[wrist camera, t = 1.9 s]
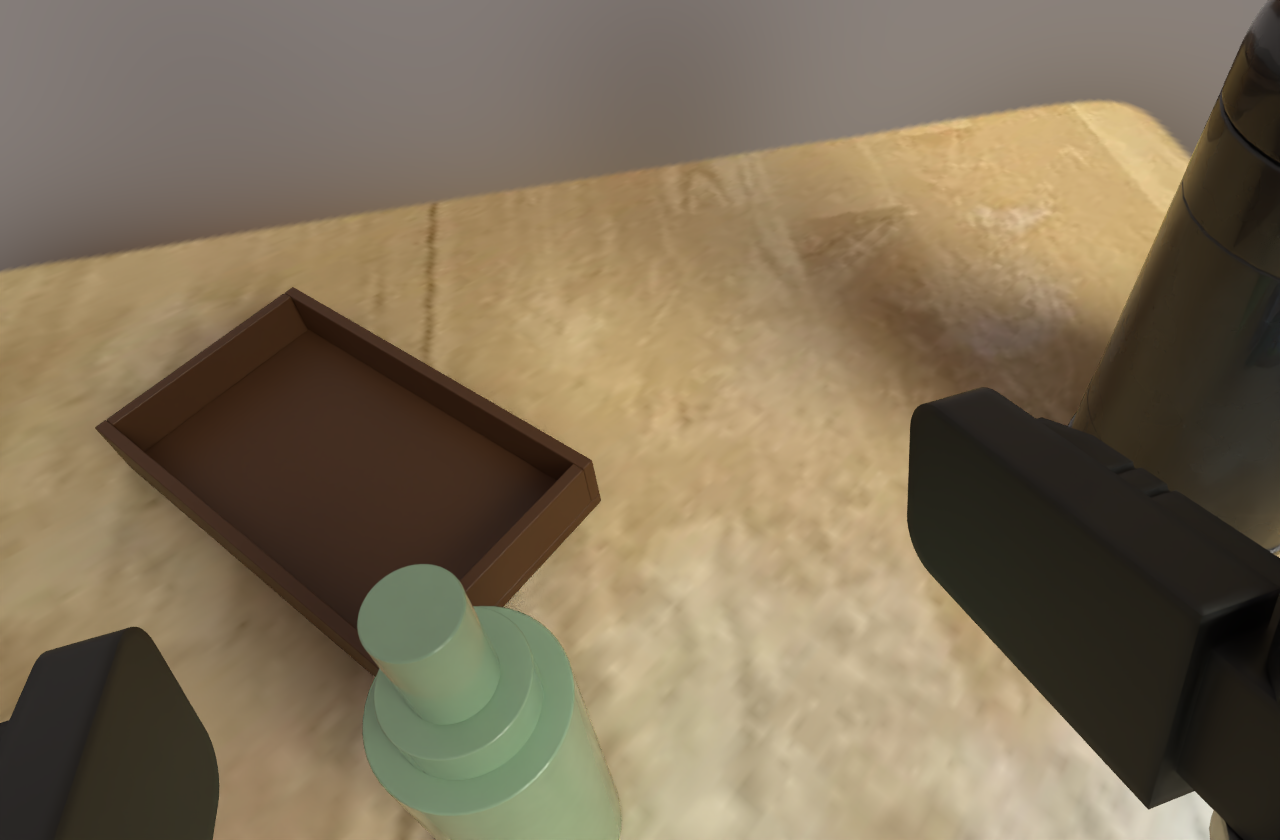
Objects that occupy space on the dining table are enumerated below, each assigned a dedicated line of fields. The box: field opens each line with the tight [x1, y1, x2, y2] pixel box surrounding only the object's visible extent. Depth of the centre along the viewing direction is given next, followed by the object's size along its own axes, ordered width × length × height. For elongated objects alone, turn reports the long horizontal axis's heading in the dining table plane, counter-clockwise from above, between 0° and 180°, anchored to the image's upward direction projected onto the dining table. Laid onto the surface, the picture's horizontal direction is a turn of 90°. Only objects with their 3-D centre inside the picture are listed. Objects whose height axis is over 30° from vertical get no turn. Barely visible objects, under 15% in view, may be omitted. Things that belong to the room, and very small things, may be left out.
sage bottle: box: [357, 564, 622, 840], centre depth 25 cm, size 6×6×16 cm
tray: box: [95, 287, 601, 677], centre depth 41 cm, size 12×22×3 cm, turn 52°
